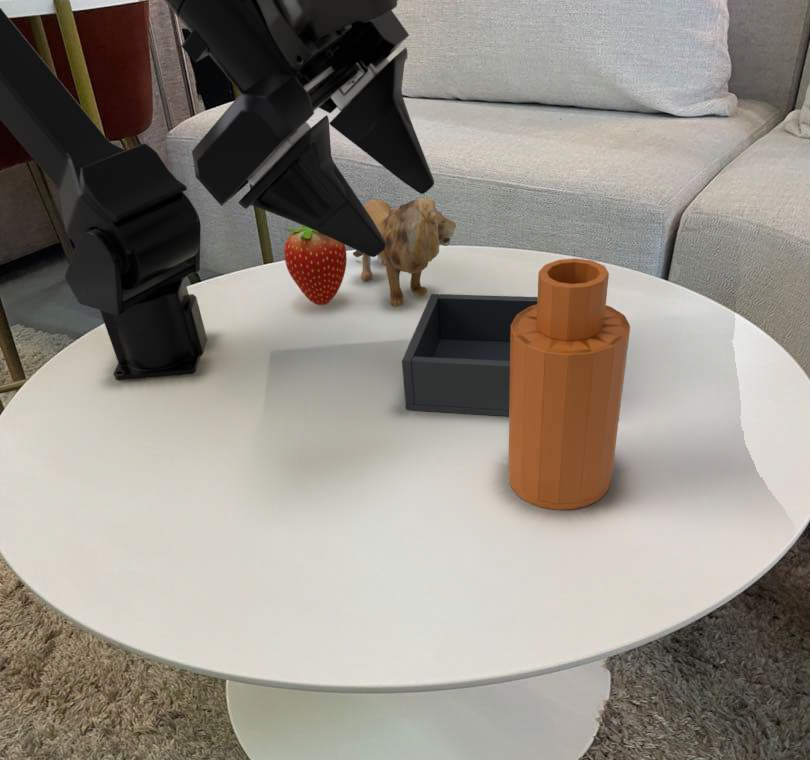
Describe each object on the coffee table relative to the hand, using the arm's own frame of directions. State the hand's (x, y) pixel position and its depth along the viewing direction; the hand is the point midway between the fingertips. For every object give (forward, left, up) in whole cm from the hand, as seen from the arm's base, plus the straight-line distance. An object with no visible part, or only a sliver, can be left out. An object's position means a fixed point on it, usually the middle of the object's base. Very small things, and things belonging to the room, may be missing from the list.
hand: (406, 218), depth 49 cm
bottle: (+8, -9, -14) cm, 18 cm away
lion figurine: (-1, +21, -14) cm, 25 cm away
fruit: (-8, +19, -14) cm, 25 cm away
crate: (+5, +4, -14) cm, 15 cm away
